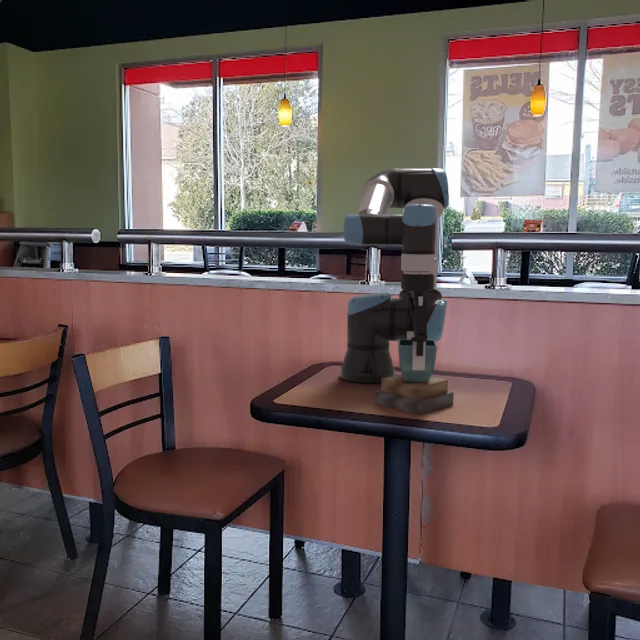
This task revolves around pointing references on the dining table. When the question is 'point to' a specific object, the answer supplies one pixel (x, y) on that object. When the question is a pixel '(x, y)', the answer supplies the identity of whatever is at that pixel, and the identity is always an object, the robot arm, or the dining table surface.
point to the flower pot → (407, 358)
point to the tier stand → (414, 394)
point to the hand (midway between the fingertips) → (415, 363)
